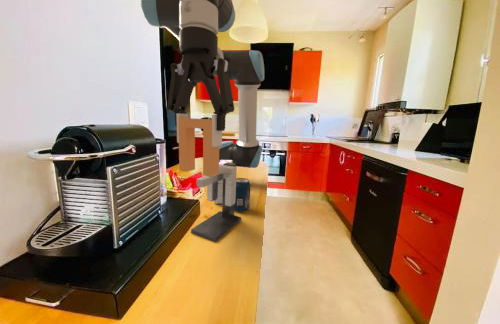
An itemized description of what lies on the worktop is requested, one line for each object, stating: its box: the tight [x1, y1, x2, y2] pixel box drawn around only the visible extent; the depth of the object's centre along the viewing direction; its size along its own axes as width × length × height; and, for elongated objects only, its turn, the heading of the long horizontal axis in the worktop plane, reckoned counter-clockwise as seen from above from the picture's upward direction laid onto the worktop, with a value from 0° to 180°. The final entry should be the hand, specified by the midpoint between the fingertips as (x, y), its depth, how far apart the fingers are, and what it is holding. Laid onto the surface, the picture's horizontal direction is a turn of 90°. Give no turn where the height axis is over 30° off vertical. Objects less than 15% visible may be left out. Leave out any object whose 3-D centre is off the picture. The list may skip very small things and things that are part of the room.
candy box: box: [213, 160, 233, 206], centre depth 88 cm, size 14×6×16 cm, turn 178°
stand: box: [190, 162, 242, 243], centre depth 63 cm, size 16×9×20 cm, turn 153°
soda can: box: [234, 177, 251, 213], centre depth 78 cm, size 7×7×12 cm
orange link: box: [178, 117, 219, 177], centre depth 45 cm, size 3×9×12 cm, turn 63°
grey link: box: [206, 164, 238, 206], centre depth 65 cm, size 3×9×12 cm, turn 63°
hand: (198, 144), depth 45 cm, fingers closed on orange link, 9 cm apart
